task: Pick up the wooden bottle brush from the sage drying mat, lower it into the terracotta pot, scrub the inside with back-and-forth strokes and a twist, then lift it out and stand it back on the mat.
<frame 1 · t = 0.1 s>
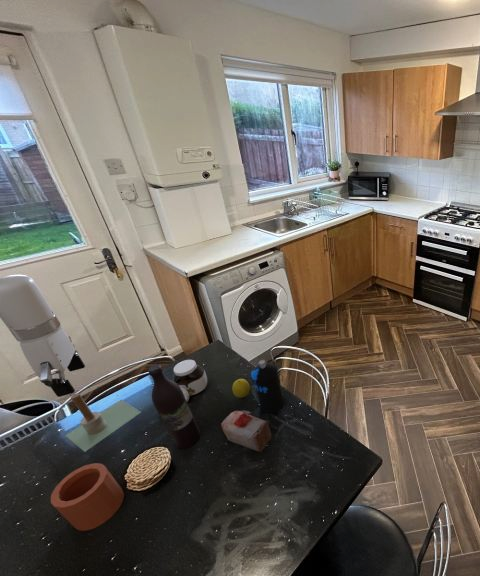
hand: (72, 381, 80), 29 cm above the table, tool pointing down, fingers open, 9 cm apart
mat: (105, 424, 102), on the table
terracotta pot: (99, 507, 80), on the table
aerosol can: (272, 404, 109), on the table
wine bottle: (188, 439, 98), on the table
brush: (97, 428, 100), point 1 cm above the table, touching mat
food item: (249, 438, 98), on the table
spread jar: (190, 394, 113), on the table
lemon: (243, 396, 112), on the table
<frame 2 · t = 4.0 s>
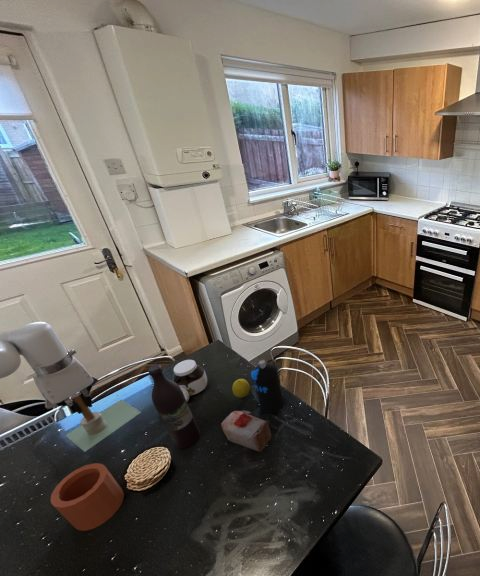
hand: (83, 408, 95), 10 cm above the table, tool pointing down, fingers closed on brush
brush: (97, 428, 100), point 1 cm above the table, touching gripper, mat
everything else where it was.
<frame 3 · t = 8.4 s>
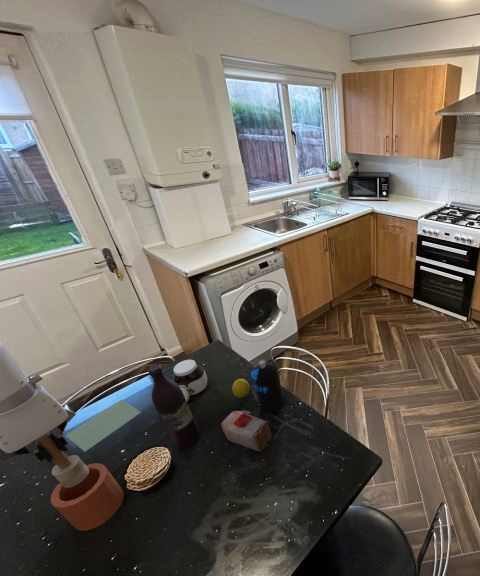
hand: (55, 453, 69), 23 cm above the table, tool pointing down, fingers closed on brush
brush: (76, 477, 74), point 13 cm above the table, touching gripper
everything else where it was.
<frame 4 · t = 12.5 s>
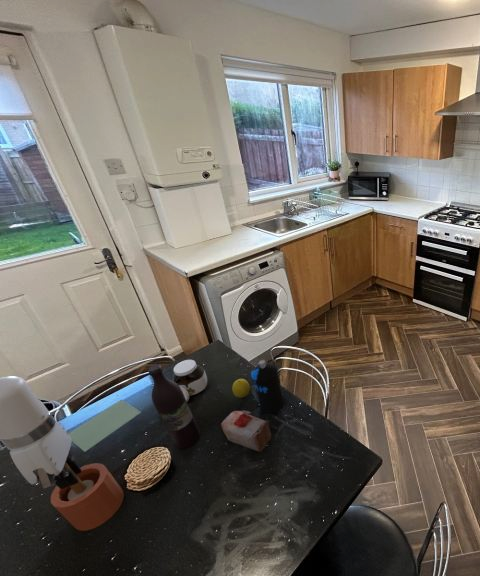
hand: (71, 479, 73), 14 cm above the table, tool pointing down, fingers closed on brush
brush: (90, 500, 78), point 4 cm above the table, touching gripper
everything else where it was.
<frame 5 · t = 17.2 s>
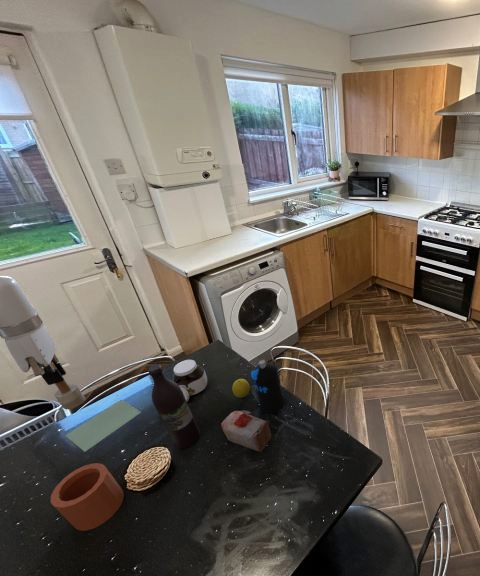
hand: (57, 378, 85), 25 cm above the table, tool pointing down, fingers closed on brush
brush: (74, 402, 90), point 16 cm above the table, touching gripper
everything else where it was.
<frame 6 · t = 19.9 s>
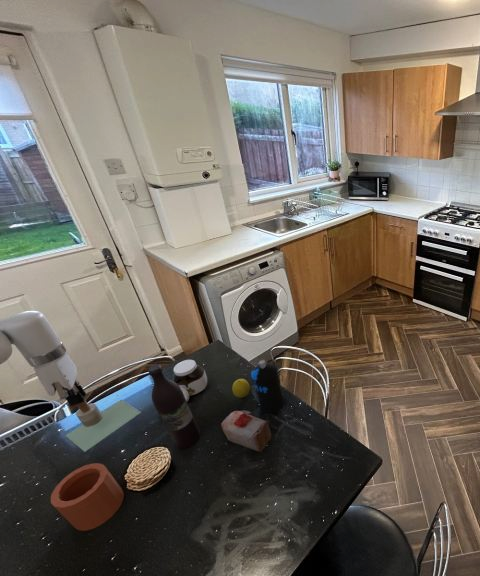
hand: (78, 399, 94), 14 cm above the table, tool pointing down, fingers closed on brush
brush: (93, 420, 98), point 4 cm above the table, touching gripper
everything else where it was.
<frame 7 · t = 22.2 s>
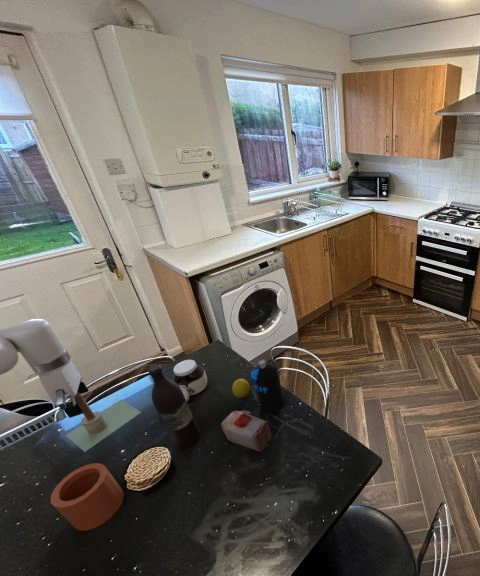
hand: (79, 403, 94), 12 cm above the table, tool pointing down, fingers open, 9 cm apart
brush: (98, 427, 100), point 1 cm above the table, touching mat
everything else where it was.
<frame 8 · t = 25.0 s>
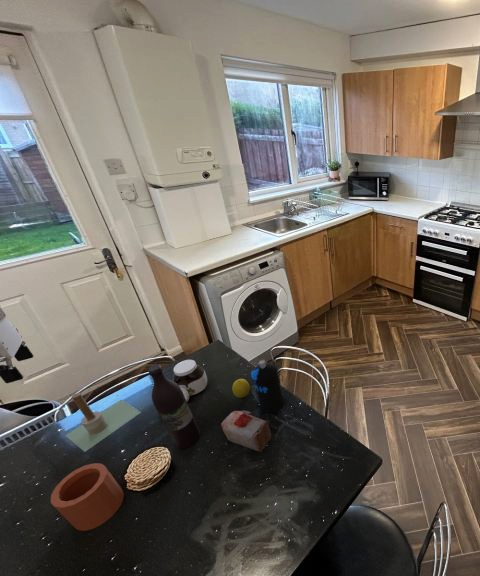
hand: (20, 369, 84), 28 cm above the table, tool pointing down, fingers open, 9 cm apart
nothing on the table moved.
at the end: brush inside the target area on the mat (0.8 cm from its centre), point 0.6 cm above the mat's base; brush tilted 0°; terracotta pot moved 0.0 cm from its start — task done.
